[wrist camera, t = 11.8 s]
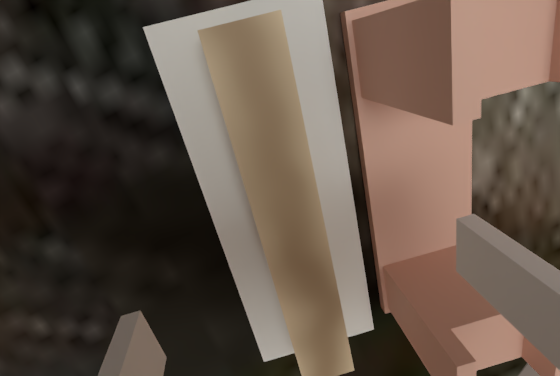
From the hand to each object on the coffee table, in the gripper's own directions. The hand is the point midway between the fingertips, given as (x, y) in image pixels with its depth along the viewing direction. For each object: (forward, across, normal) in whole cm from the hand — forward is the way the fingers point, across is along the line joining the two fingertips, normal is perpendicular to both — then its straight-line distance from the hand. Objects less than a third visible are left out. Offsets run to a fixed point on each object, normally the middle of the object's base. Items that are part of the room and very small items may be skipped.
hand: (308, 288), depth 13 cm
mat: (+8, 0, -1) cm, 8 cm away
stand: (+8, +9, -1) cm, 12 cm away
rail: (+8, 0, -1) cm, 8 cm away
